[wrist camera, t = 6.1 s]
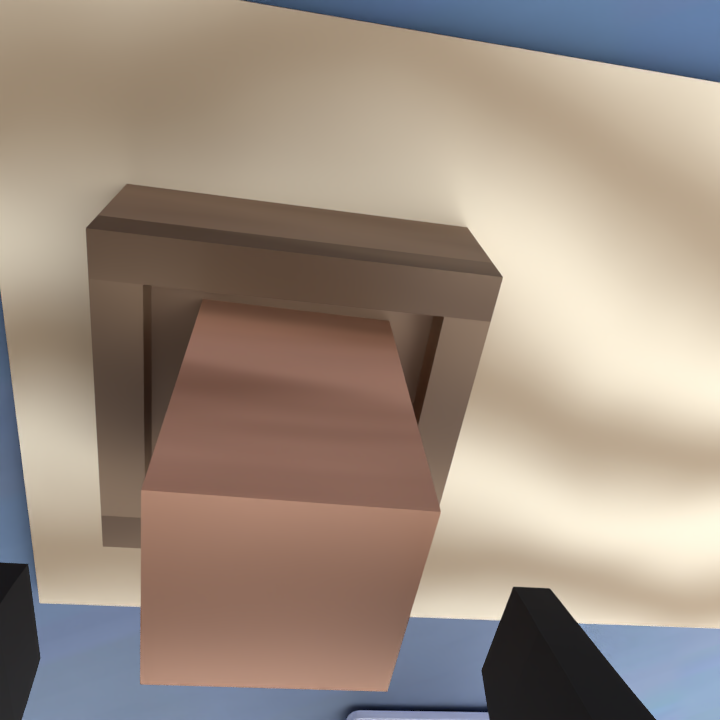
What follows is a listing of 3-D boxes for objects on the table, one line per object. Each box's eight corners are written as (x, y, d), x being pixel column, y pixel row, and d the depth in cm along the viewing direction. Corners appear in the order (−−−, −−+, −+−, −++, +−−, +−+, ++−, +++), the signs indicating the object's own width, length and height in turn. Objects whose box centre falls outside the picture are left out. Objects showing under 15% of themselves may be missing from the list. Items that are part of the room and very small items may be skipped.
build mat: (728, 615, 25) (793, 710, 22) (46, 588, 21) (-1, 696, 18) (1029, 135, 16) (1214, 171, 13) (-29, -47, 13) (-144, -61, 9)
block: (359, 464, 16) (387, 691, 11) (194, 451, 15) (140, 684, 10) (389, 321, 14) (441, 512, 9) (202, 298, 13) (140, 489, 8)
